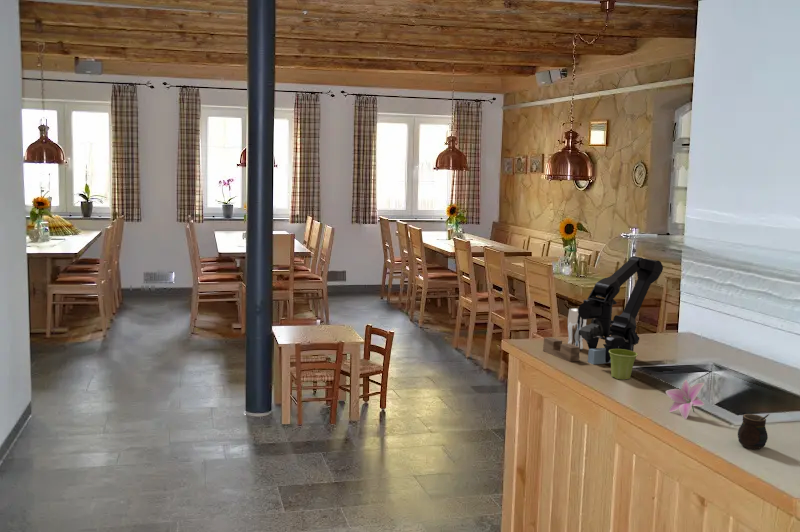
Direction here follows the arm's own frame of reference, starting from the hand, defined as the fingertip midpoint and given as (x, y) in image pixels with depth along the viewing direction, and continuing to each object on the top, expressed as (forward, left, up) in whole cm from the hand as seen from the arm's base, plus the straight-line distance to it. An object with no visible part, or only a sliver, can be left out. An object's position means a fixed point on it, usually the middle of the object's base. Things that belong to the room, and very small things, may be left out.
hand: (599, 359), depth 290 cm
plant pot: (+6, +18, -1) cm, 19 cm away
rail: (+8, -12, -1) cm, 14 cm away
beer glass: (-5, -20, -1) cm, 21 cm away
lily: (+14, +54, -1) cm, 56 cm away
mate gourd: (+18, +81, -1) cm, 83 cm away
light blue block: (0, 0, -1) cm, 1 cm away
